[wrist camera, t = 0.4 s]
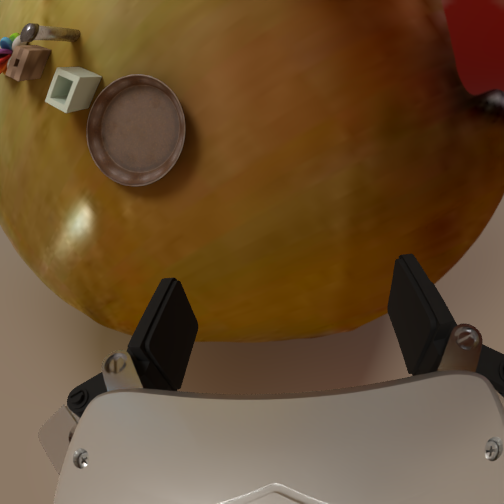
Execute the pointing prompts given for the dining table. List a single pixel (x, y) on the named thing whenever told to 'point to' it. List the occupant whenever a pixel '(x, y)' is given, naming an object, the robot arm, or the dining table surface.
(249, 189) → the dining table surface
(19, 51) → the narrow block
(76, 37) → the cylinder
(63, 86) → the wide bore block
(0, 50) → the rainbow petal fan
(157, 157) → the plant saucer
